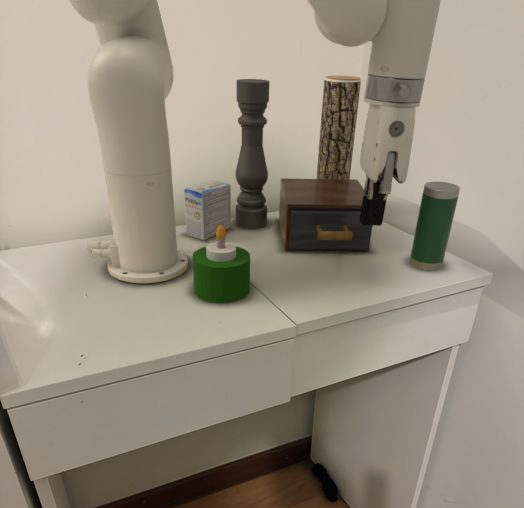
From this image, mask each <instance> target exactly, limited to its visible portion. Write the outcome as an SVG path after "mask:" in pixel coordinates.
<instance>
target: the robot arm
mask: <svg viewBox="0 0 524 508" xmlns="http://www.w3.org/2000/svg"><path fill="white" fill-rule="evenodd" d="M69 2H70V4H71V6H72V7H73V9H74V10H75V11H76V12H77V13H78V14H79V16H80V17H82V18H83V20H85V21H87V22H90V23H91V24H94V28H95V31H96V34H97V37H98V40H99V44H100V47H99V48H98V49H97V50H96V51H95V52H94V54H93V56H92V58H91V60H90V62H89V65H88V72H87V90H88V92H87V93H88V96H89V101H90V105H91V109H92V113H93V117H94V121H95V125H96V130H97V134H98V140H99V146H100V152H101V153H100V154H101V158H102V167H103V172H104V178H105V179H104V180H105V186H106V192H107V193H106V194H107V199H108V206H109V214H110V220H111V221H110V222H111V228H112V234H113V235H112V237H113V238H109V239H108V240H107V241H101V240H88V241H87V251H88V253H89V254H91V256H92V258H93V259H103V258H107V259H108V260H107V264H106V265H107V272H108V273H109V275H110V276H111V277H113V278H115V279H116V280H119V281H122V282H126V283H131V284H155V283H161V282H166V281H169V280H172V279H175V278H177V277H179V276H181V275H182V274H184V273H185V272H186V270H187V269H188V267H189V261H188V257H187V255H186V254H185V253H184V252H182V251H181V250H179V249H178V244H177V243H178V242H177V230H176V216H175V215H176V213H175V201H174V200H175V199H174V187H173V186H174V185H173V173H172V171H173V169H172V159H171V158H172V157H171V147H170V137H169V135H170V134H169V128H168V121H167V120H168V119H167V112H166V111H167V110H166V99H167V98H168V97H169V94H170V93H171V91H172V88H173V83H174V66H173V61H172V57H171V52H170V47H169V43H168V40H167V36H166V31H165V27H164V23H163V20H162V15H161V11H160V7H159V2H158V0H69ZM307 2H308V3H309V5H310V6H311V8H312V10H313V15H314V22H315V25H316V28H317V29H318V31H319V33H321V35H322V36H323V37H324V38H325V39H327V40H328V41H330V42H332V43H333V44H337V45H340V46H343V47H347V48H353V47H359V46H363V45H364V44H367V43H368V42H371V47H370V54H369V61H368V69H367V75H366V84H365V90H364V96H363V102H364V103H367V104H369V106H368V111H367V113H366V115H367V116H366V121H365V125H364V130H363V131H364V132H363V136H362V144H361V150H360V158H359V159H360V161H359V164H360V168H361V170H362V171H363V173H364V174H365V182H364V187H363V189H364V195H367V196H363V201H362V207H361V213H360V222H361V223H362V225H373V226H375V227H377V226H378V227H380V226H382V225H383V223H384V215H385V210H386V207H387V200H388V196H389V195H391V192H392V185H393V179H394V180H395V181H396V182H397V183H398V184H400V185H402V184H404V183H405V182H406V181H407V177H408V173H409V167H410V166H409V165H410V159H411V153H412V146H413V141H414V132H415V123H416V108H419V107H420V105H421V99H422V95H423V90H424V85H425V80H426V79H425V78H426V75H427V71H428V66H429V61H430V55H431V51H432V46H433V41H434V37H435V31H436V25H437V21H438V16H439V11H440V6H441V0H307Z"/></svg>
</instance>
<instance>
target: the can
mask: <svg viewBox="0 0 524 508" xmlns="http://www.w3.org/2000/svg"><path fill="white" fill-rule="evenodd" d="M460 191H461V187H460V186H459V185H457V184H454V183H451V182H446V181H428V182H425V183H424V185H423V191H422V195H421V200H420V204H419V211H418V216H417V220H416V225H415V231H414V236H413V241H412V247H411V250H410V251H411V252H410V257H409V264H410V265H411V266H412V267H414V268H416V269H418V270H423V271H438V270H440V269H442V268H443V263H444V260H445V255H446V252H447V248H448V243H449V239H450V236H451V235H450V234H451V230H452V226H453V222H454V217H455V213H456V209H457V205H458V200H459V195H460Z"/></svg>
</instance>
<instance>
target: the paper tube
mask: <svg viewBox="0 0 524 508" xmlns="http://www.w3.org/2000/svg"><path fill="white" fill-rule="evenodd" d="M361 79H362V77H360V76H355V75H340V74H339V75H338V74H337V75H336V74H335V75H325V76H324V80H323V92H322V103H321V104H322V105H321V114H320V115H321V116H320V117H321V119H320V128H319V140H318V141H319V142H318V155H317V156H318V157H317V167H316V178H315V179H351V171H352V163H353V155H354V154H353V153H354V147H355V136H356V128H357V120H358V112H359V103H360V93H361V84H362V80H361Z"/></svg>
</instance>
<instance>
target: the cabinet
mask: <svg viewBox="0 0 524 508" xmlns="http://www.w3.org/2000/svg"><path fill="white" fill-rule="evenodd" d="M279 187H280V188H279V206H278V207H279V209H278V210H279V211H278V222H279V227H280V232H281V237H282V242H283V247H284V248H283V249H284V251H285V252H336V253H337V252H339V253H340V252H346V253H347V252H350V253H354V252H355V253H360V252H361V253H362V252H363V253H365V252H366V253H369V252H370V247H371V238H372V233H373V226H374V225H371V229H370V236H369V243H368V249H289V234H290V216H291V210H292V209H300V210H361V207H362V201H363V196H367V195H364V187H363V186H362V184H361V183H360V181H359V180H358V179H352V178H350V179H316V178H280V185H279Z"/></svg>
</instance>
